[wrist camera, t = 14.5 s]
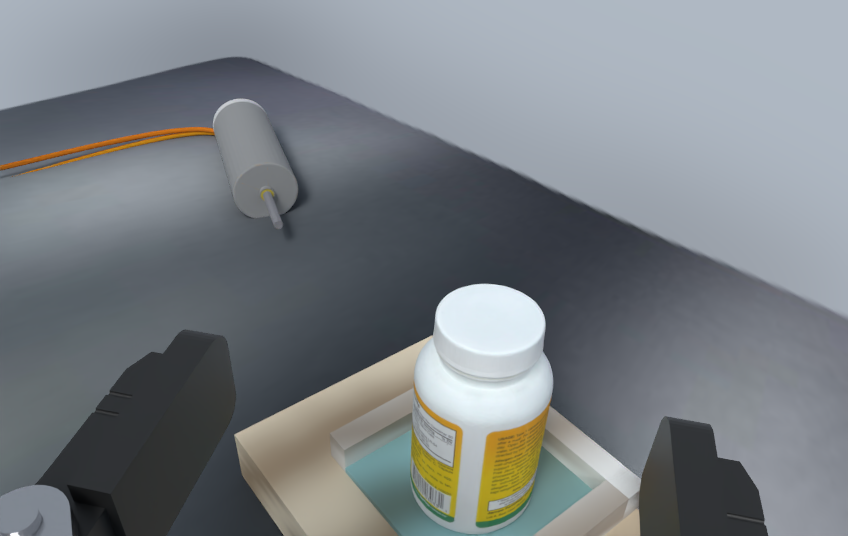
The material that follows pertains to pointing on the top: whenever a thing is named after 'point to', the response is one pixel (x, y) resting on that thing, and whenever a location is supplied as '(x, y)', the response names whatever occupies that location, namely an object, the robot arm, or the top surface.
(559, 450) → the dock
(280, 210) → the motor
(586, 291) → the top surface
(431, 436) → the supplement bottle
